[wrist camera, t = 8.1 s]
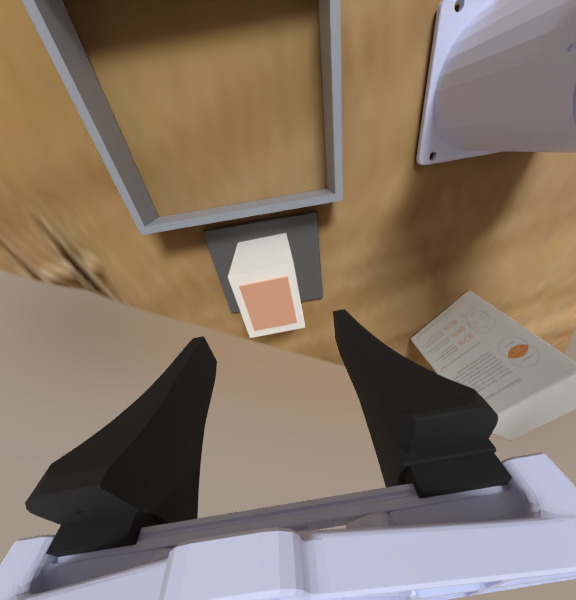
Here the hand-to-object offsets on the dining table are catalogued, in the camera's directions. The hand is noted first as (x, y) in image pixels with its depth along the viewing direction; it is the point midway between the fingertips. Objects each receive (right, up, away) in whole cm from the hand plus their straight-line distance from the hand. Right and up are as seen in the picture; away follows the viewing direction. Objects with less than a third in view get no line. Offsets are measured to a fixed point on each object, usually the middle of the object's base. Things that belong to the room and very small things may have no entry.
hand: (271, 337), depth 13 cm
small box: (+20, -1, +14) cm, 24 cm away
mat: (-1, +5, +8) cm, 9 cm away
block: (-1, +5, +7) cm, 9 cm away
